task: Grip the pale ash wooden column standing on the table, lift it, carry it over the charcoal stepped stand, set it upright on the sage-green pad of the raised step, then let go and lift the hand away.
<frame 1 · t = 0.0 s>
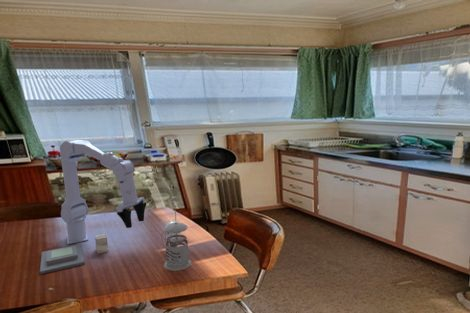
hand: (135, 224, 126), 11 cm above the table, tool pointing down, fingers open, 7 cm apart
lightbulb: (174, 247, 129), on the table
stepped stand: (62, 259, 120), on the table
french press: (176, 263, 115), on the table
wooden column: (102, 250, 127), on the table
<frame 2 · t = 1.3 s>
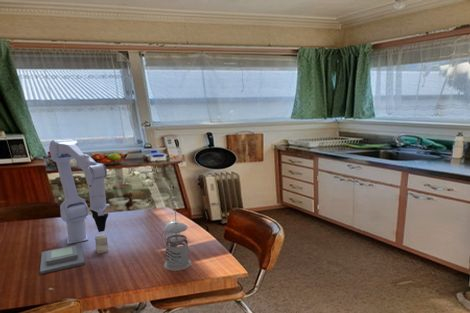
hand: (100, 228, 125), 9 cm above the table, tool pointing down, fingers open, 7 cm apart
nothing on the table moved.
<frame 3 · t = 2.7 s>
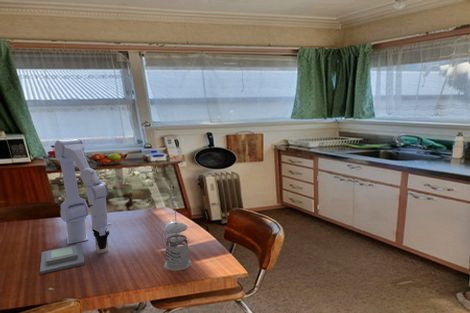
hand: (101, 246, 127), 2 cm above the table, tool pointing down, fingers closed on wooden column, 4 cm apart
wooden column: (102, 250, 127), on the table, touching gripper
everything else where it was.
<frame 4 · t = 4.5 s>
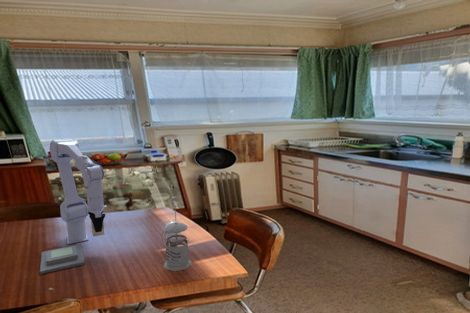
hand: (97, 229, 125), 9 cm above the table, tool pointing down, fingers closed on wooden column, 4 cm apart
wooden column: (98, 233, 125), point 7 cm above the table, touching gripper
everything else where it was.
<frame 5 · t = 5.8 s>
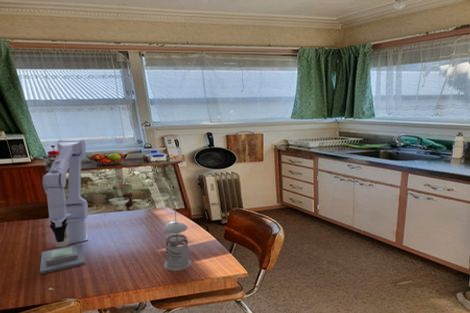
hand: (60, 239, 119), 8 cm above the table, tool pointing down, fingers closed on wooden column, 4 cm apart
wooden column: (62, 243, 119), point 6 cm above the table, touching gripper
everything else where it was.
when the fingers open (5 cm above the table, at t = 6.7 s): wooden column stays where it is, resting on stepped stand.
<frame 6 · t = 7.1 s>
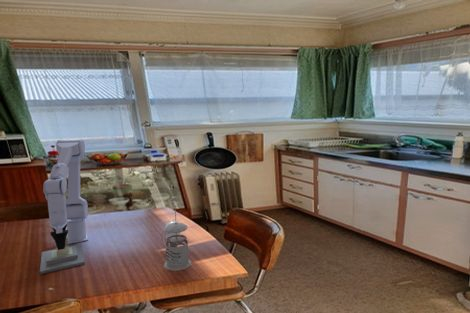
hand: (61, 245, 119), 6 cm above the table, tool pointing down, fingers open, 7 cm apart
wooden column: (63, 252, 120), point 3 cm above the table, touching stepped stand
everything else where it was.
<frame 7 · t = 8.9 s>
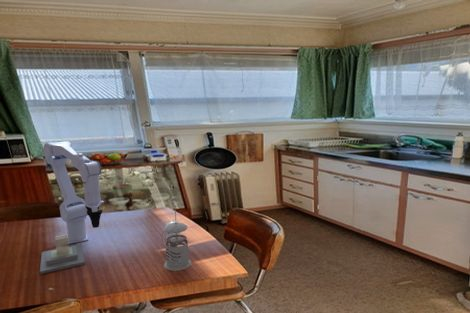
hand: (95, 224, 128), 10 cm above the table, tool pointing down, fingers open, 7 cm apart
nothing on the table moved.
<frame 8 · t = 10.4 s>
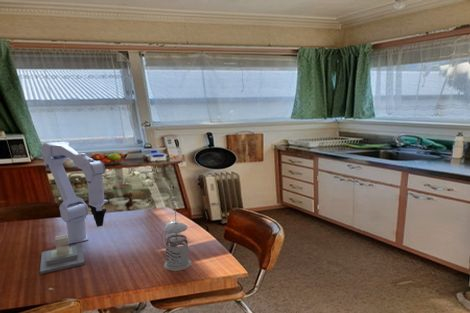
hand: (98, 223, 130), 10 cm above the table, tool pointing down, fingers open, 7 cm apart
nothing on the table moved.
at the end: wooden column 0.4 cm off-centre on the stepped stand, point 2.7 cm above the stepped stand's base; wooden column tilted 0°; the gripper is holding nothing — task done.
